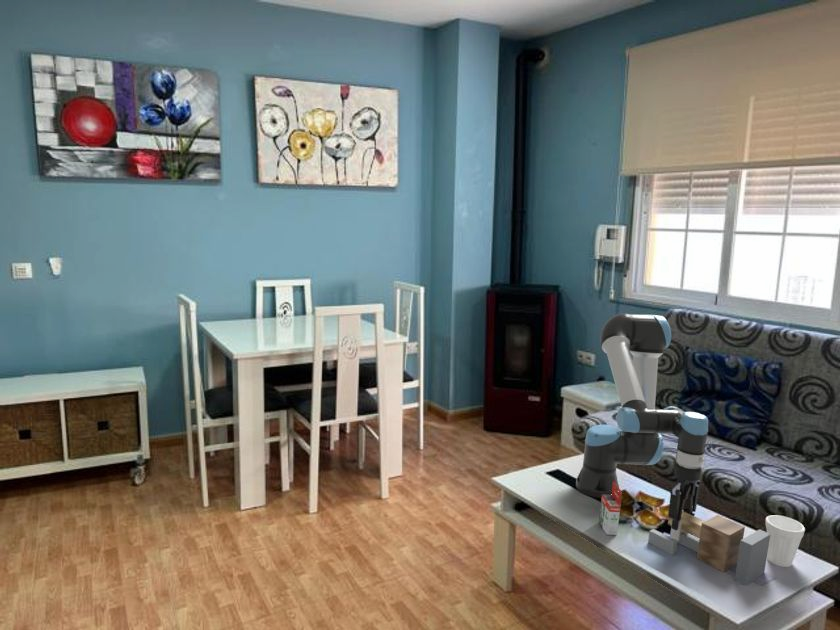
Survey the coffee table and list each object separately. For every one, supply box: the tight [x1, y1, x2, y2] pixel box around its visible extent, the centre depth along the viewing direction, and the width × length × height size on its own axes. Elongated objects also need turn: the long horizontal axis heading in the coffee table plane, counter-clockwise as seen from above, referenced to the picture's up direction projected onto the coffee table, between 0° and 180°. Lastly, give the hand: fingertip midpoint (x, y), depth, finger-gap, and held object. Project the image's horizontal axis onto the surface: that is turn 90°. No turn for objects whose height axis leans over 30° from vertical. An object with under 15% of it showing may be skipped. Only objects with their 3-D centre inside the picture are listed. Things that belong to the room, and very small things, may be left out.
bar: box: [667, 511, 706, 539], centre depth 183 cm, size 14×4×4 cm, turn 37°
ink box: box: [598, 481, 623, 536], centre depth 193 cm, size 4×8×15 cm, turn 2°
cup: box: [765, 514, 806, 568], centre depth 178 cm, size 10×10×13 cm
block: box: [696, 514, 746, 573], centre depth 176 cm, size 8×9×11 cm
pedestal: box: [647, 528, 679, 556], centre depth 183 cm, size 8×2×5 cm, turn 37°
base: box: [677, 529, 771, 586], centre depth 178 cm, size 26×11×13 cm, turn 37°
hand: (679, 536), depth 187 cm, fingers closed on bar, 4 cm apart
